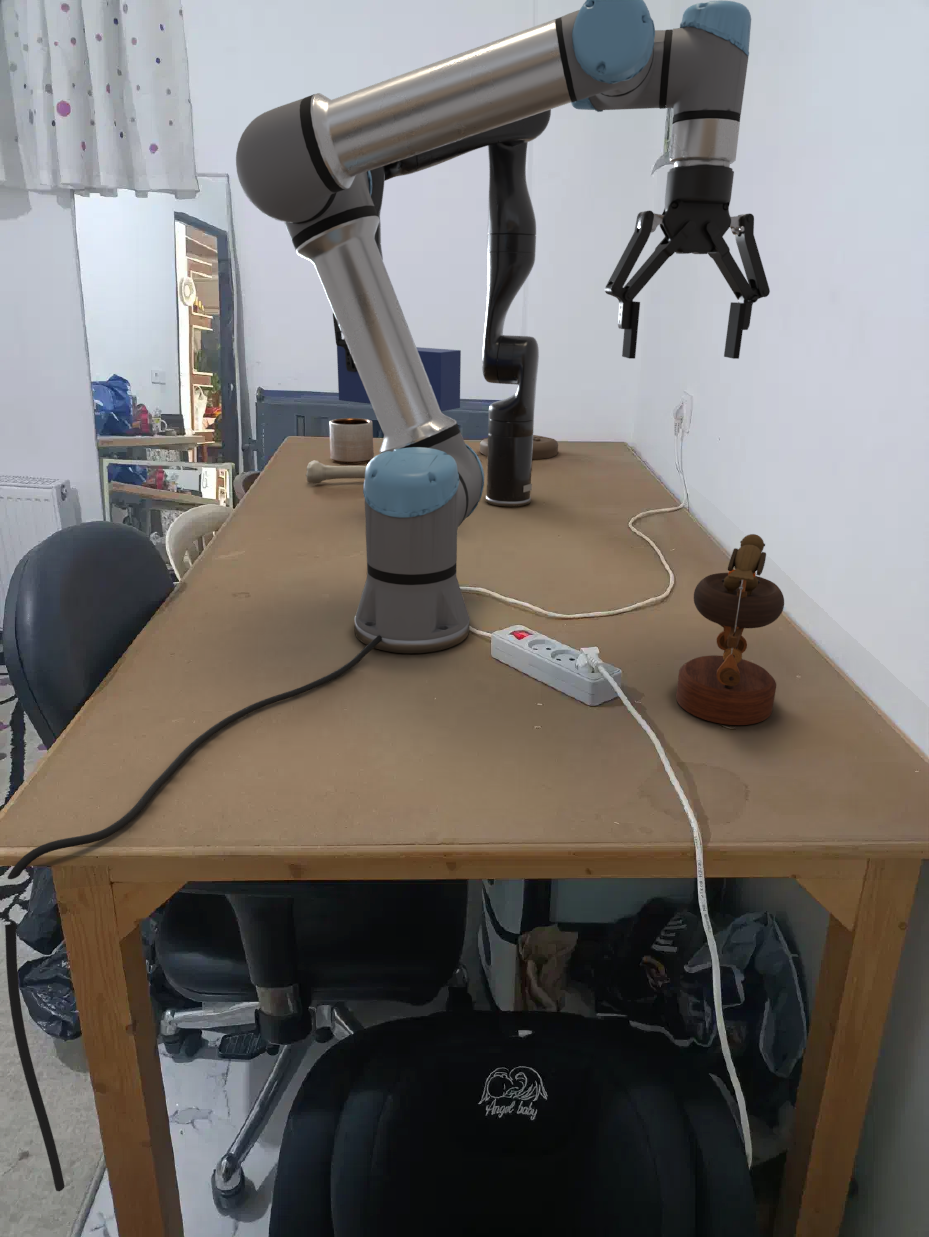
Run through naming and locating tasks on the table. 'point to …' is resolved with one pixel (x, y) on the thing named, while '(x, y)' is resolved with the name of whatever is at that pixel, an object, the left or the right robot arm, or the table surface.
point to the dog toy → (332, 472)
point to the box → (438, 368)
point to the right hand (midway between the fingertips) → (364, 369)
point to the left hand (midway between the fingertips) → (680, 358)
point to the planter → (351, 440)
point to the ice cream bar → (541, 447)
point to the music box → (733, 642)
